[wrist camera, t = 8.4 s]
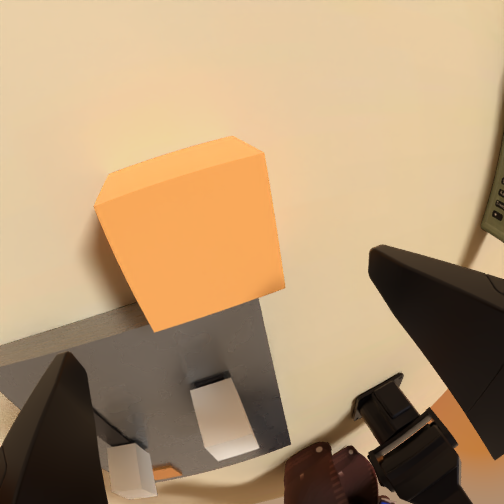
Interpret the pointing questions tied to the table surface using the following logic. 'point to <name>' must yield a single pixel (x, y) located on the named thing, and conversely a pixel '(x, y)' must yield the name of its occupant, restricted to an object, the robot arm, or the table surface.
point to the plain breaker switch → (223, 420)
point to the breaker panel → (159, 381)
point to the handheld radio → (496, 202)
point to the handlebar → (331, 477)
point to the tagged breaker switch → (131, 472)
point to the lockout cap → (193, 230)
